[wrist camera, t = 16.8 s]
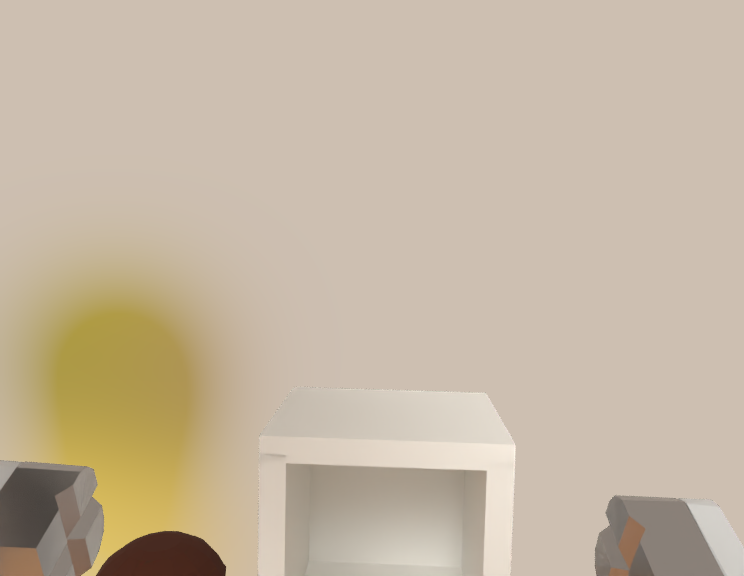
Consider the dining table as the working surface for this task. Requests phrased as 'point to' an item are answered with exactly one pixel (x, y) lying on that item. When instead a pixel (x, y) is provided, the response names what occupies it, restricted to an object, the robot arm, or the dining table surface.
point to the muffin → (164, 557)
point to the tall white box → (385, 485)
